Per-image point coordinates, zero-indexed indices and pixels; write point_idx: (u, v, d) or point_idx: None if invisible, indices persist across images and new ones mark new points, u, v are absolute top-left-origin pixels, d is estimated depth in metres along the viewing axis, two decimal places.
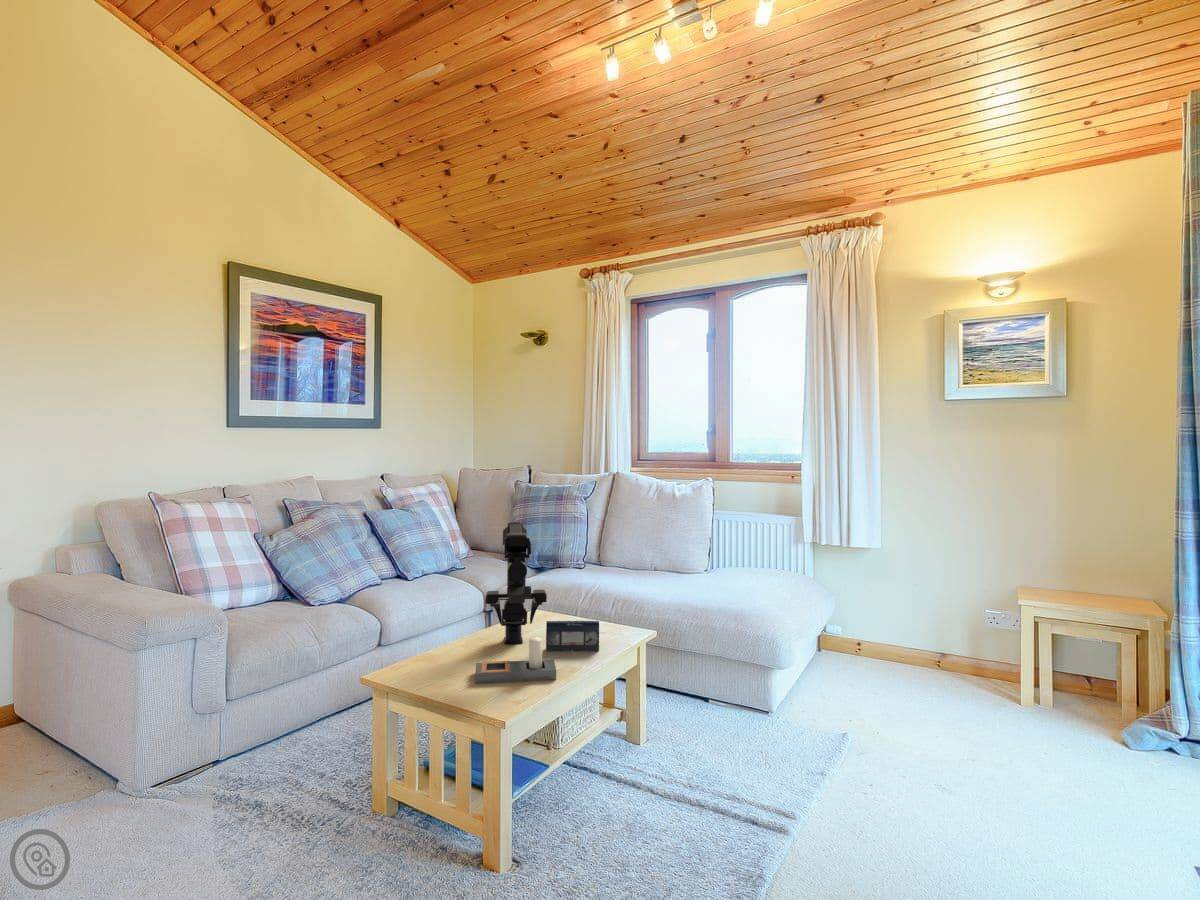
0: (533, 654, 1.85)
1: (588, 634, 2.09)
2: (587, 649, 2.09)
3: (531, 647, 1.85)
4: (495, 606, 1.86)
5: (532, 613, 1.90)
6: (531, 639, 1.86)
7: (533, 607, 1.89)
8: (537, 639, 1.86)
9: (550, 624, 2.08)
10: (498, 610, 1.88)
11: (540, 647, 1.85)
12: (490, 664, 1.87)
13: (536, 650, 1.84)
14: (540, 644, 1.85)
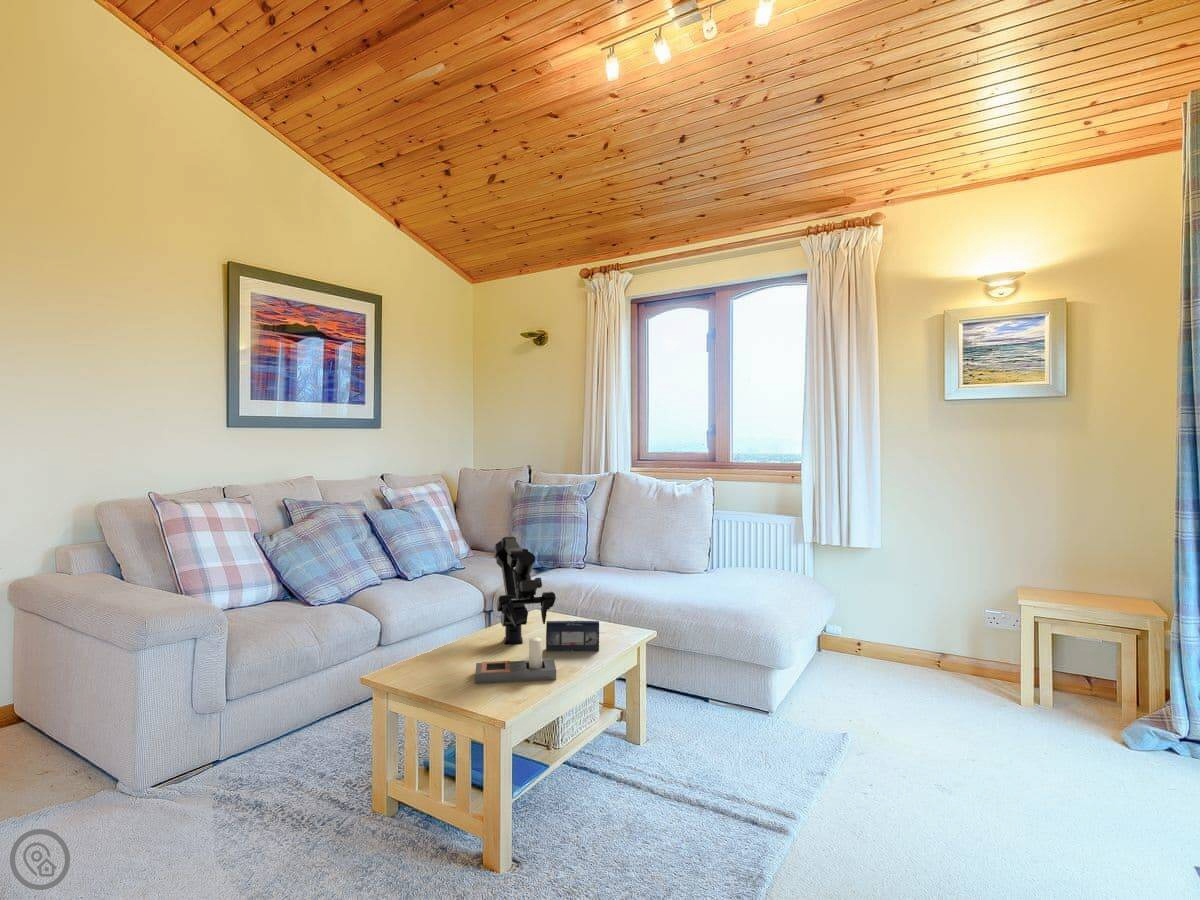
0: (533, 654, 1.85)
1: (588, 634, 2.09)
2: (587, 649, 2.09)
3: (531, 647, 1.85)
4: (508, 604, 1.94)
5: (544, 612, 1.96)
6: (531, 639, 1.86)
7: (544, 605, 1.98)
8: (537, 639, 1.86)
9: (550, 624, 2.08)
10: (511, 610, 1.94)
11: (540, 647, 1.85)
12: (490, 664, 1.87)
13: (536, 650, 1.84)
14: (540, 644, 1.85)
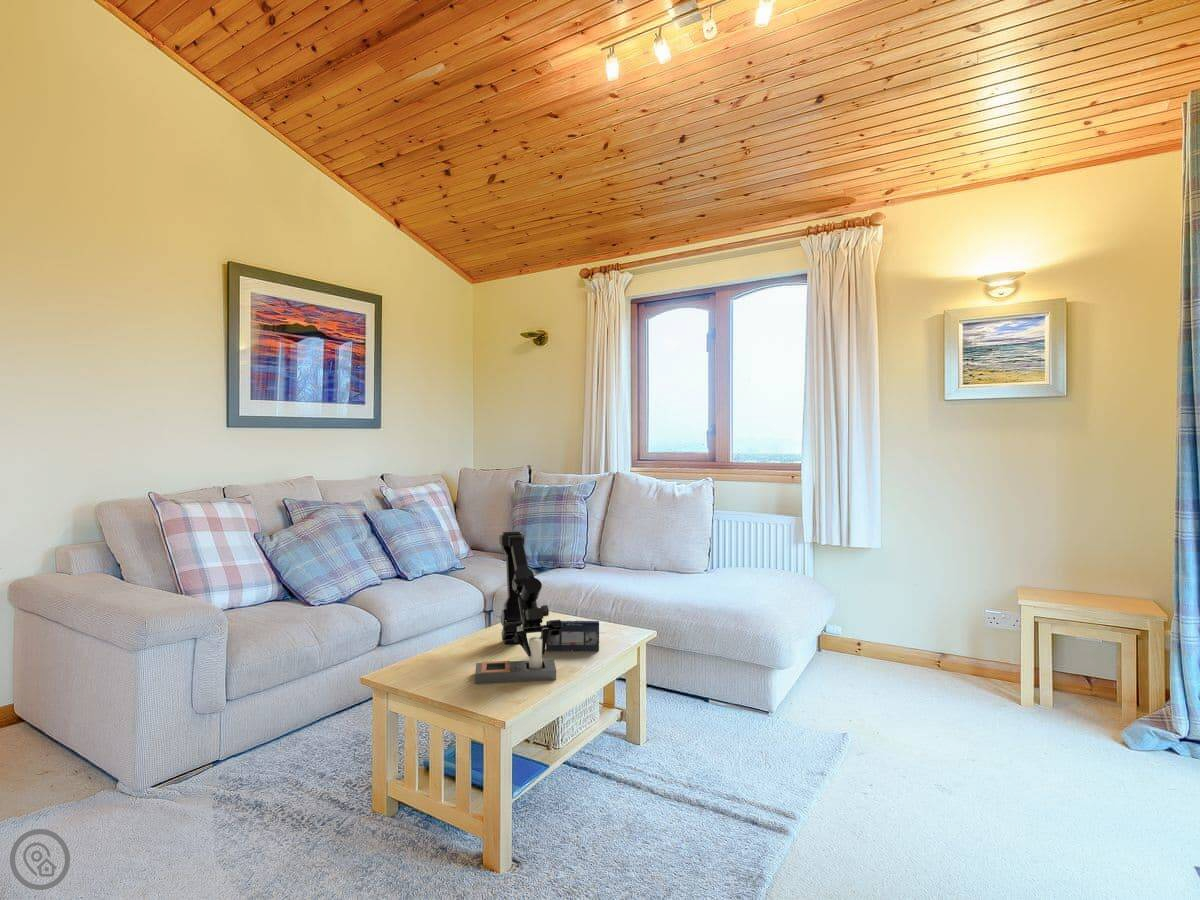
0: (533, 654, 1.85)
1: (588, 634, 2.09)
2: (587, 649, 2.09)
3: (531, 647, 1.85)
4: (522, 633, 1.86)
5: (543, 642, 1.87)
6: (531, 639, 1.86)
7: (543, 635, 1.89)
8: (537, 639, 1.86)
9: None
10: (525, 639, 1.86)
11: (540, 647, 1.85)
12: (490, 664, 1.87)
13: (536, 650, 1.84)
14: (540, 644, 1.85)
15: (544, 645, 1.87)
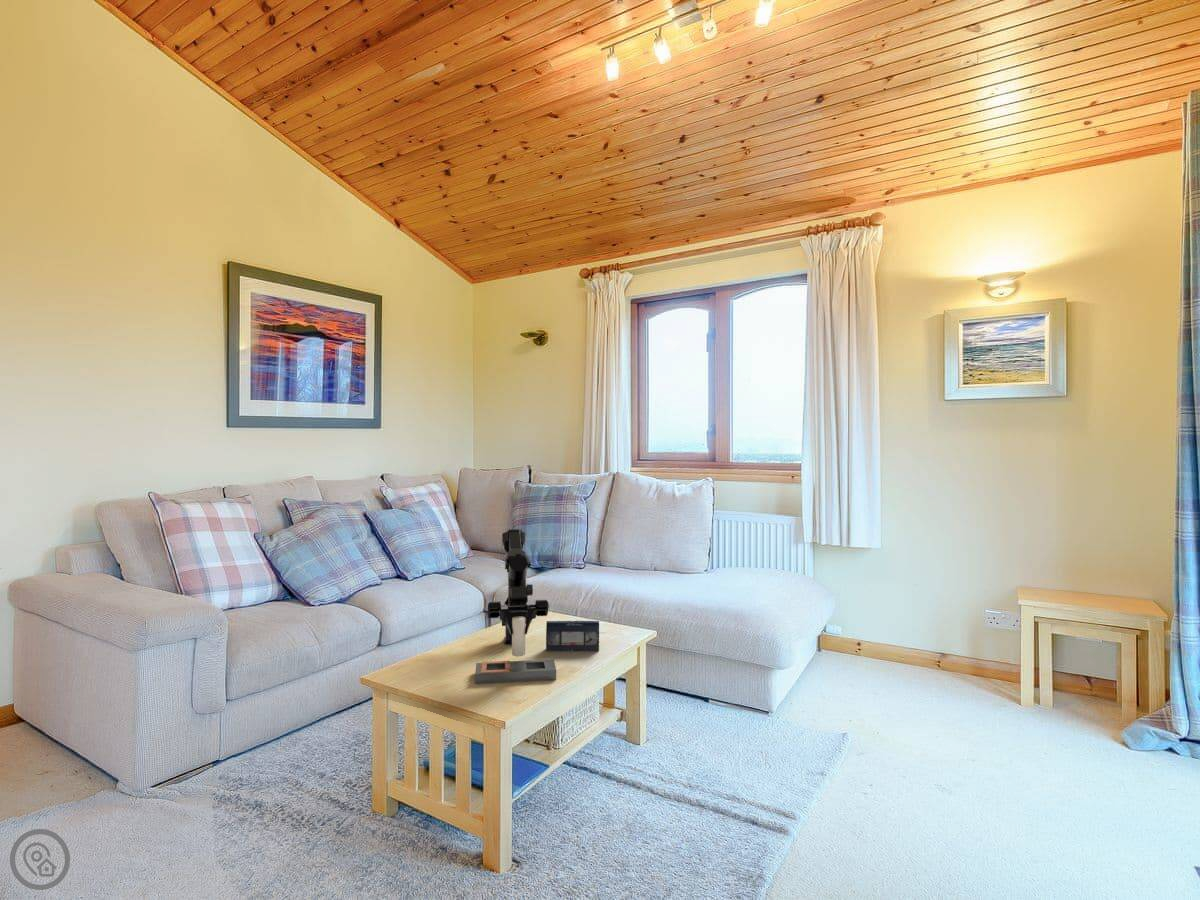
0: (515, 632, 1.83)
1: (588, 634, 2.09)
2: (587, 649, 2.09)
3: (513, 625, 1.84)
4: (505, 611, 1.85)
5: (527, 621, 1.86)
6: (514, 617, 1.85)
7: (528, 614, 1.87)
8: (520, 618, 1.85)
9: (550, 624, 2.08)
10: (508, 617, 1.85)
11: (523, 626, 1.84)
12: (490, 664, 1.87)
13: (518, 628, 1.83)
14: (522, 623, 1.84)
15: (527, 624, 1.85)
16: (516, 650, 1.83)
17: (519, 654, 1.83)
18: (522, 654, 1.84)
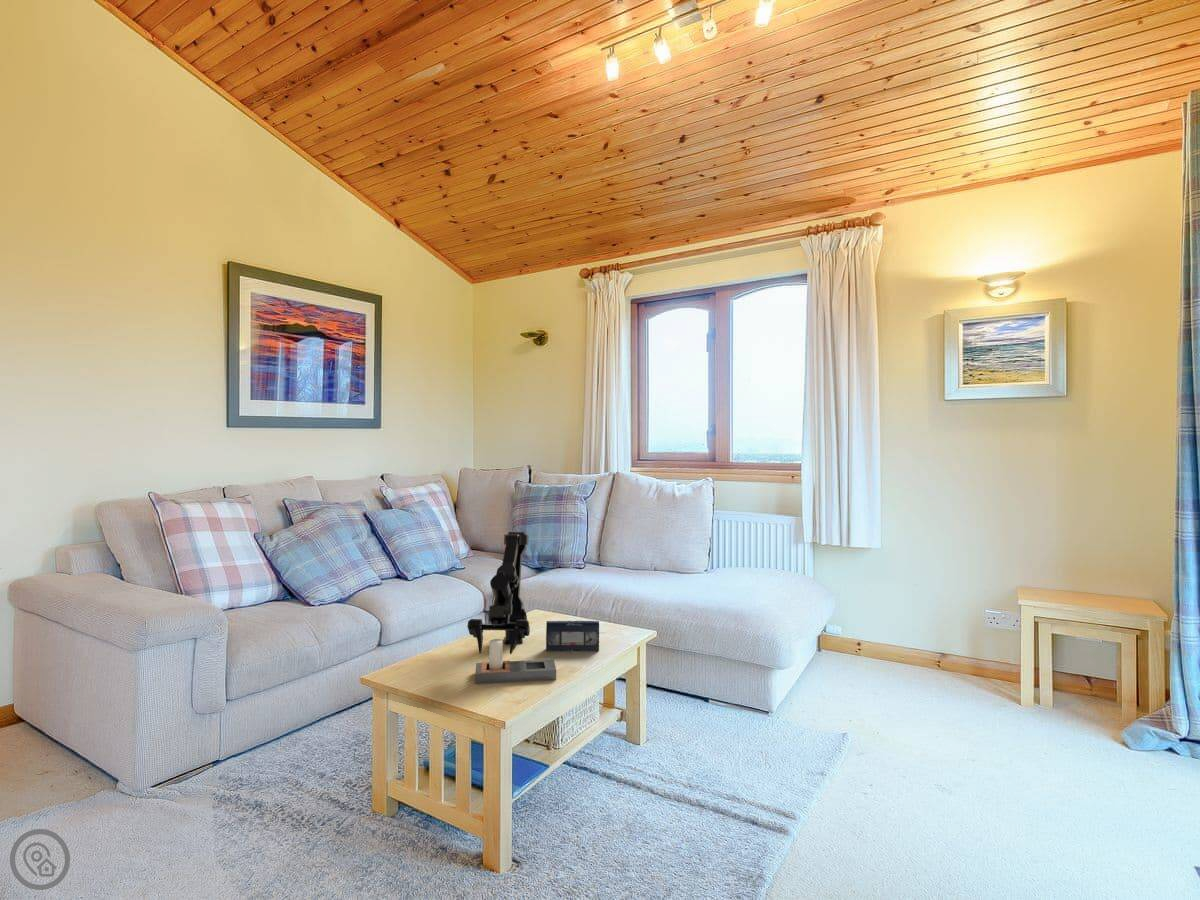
0: (491, 655, 1.83)
1: (588, 634, 2.09)
2: (587, 649, 2.09)
3: (490, 648, 1.83)
4: (476, 629, 1.86)
5: (512, 641, 1.85)
6: (492, 640, 1.85)
7: (514, 634, 1.86)
8: (497, 641, 1.84)
9: (550, 624, 2.08)
10: (479, 635, 1.86)
11: (499, 649, 1.83)
12: None
13: (494, 652, 1.82)
14: (498, 646, 1.83)
15: (512, 644, 1.84)
16: None
17: None
18: None
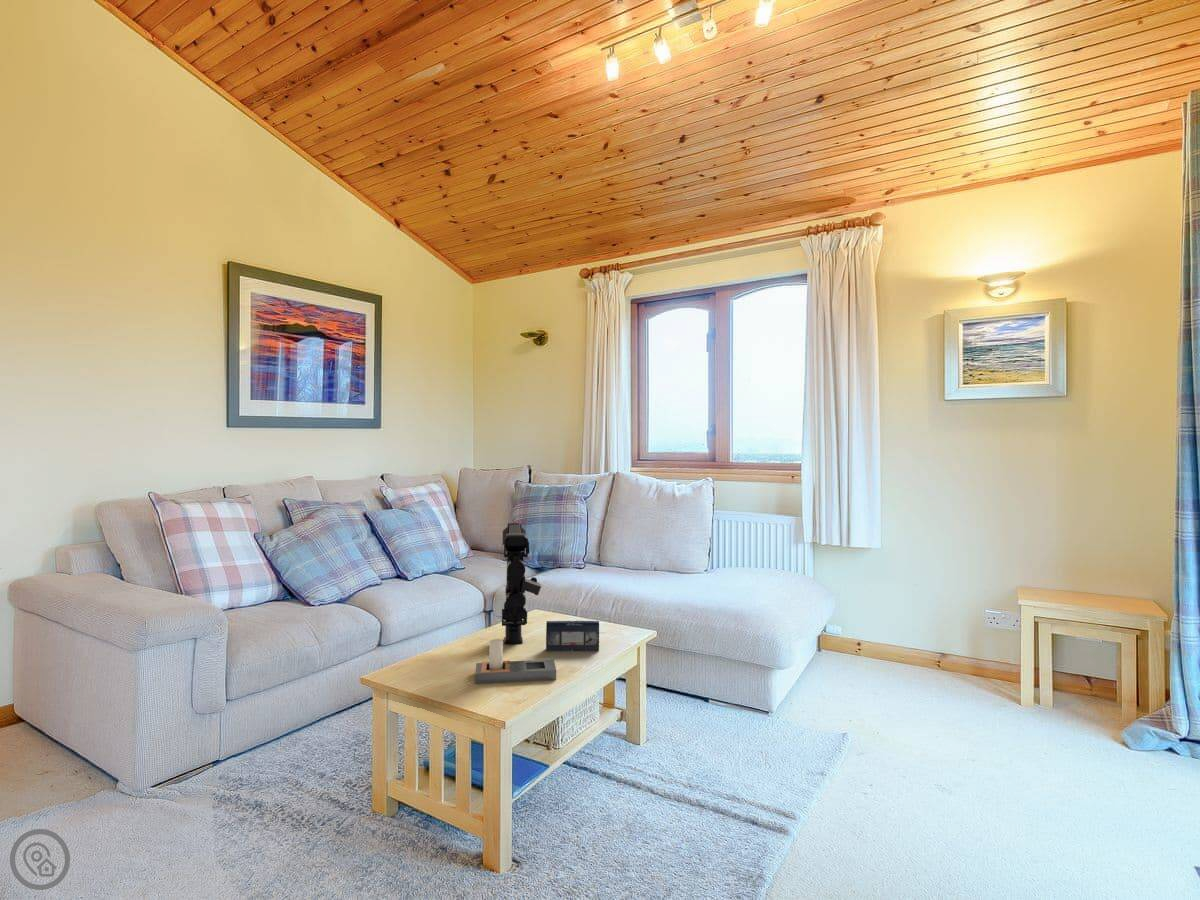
0: (491, 655, 1.83)
1: (588, 634, 2.09)
2: (587, 649, 2.09)
3: (490, 648, 1.83)
4: None
5: None
6: (492, 640, 1.85)
7: None
8: (497, 641, 1.84)
9: (550, 624, 2.08)
10: (519, 609, 1.95)
11: (499, 649, 1.83)
12: None
13: (494, 652, 1.83)
14: (498, 646, 1.83)
15: None
16: None
17: None
18: None
